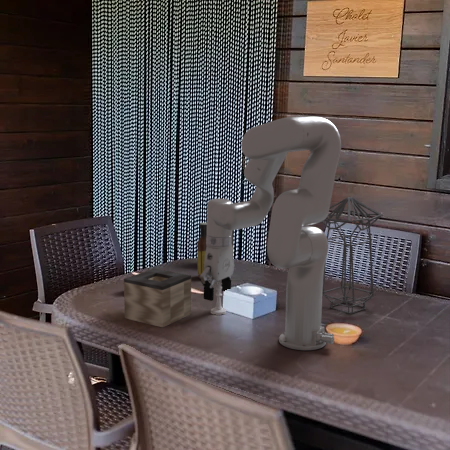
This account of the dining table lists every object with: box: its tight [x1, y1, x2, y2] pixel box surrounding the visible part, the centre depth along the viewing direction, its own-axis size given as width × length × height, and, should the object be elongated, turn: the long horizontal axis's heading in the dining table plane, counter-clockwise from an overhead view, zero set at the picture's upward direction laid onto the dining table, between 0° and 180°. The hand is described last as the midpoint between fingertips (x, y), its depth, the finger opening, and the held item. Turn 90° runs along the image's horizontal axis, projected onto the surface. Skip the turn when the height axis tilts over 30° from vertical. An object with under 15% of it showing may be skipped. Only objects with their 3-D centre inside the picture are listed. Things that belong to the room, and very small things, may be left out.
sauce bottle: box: [196, 221, 207, 280], centre depth 243 cm, size 6×6×20 cm
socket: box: [123, 268, 192, 328], centre depth 203 cm, size 14×14×12 cm
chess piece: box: [210, 280, 227, 316], centre depth 207 cm, size 5×5×10 cm
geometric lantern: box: [321, 196, 384, 315], centre depth 211 cm, size 16×16×35 cm
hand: (217, 295), depth 208 cm, fingers open, 9 cm apart
